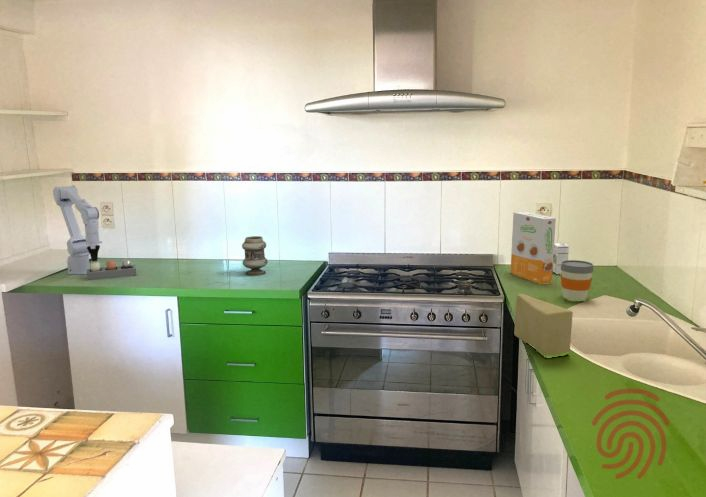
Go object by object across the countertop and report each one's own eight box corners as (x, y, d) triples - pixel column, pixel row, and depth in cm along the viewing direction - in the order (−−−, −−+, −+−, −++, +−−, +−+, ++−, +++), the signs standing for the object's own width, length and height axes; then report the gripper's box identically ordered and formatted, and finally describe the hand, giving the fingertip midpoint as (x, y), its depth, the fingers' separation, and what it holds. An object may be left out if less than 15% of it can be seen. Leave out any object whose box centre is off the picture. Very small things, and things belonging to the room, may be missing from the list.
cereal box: (551, 283, 262) (555, 218, 256) (540, 284, 260) (544, 219, 254) (521, 272, 283) (524, 211, 277) (510, 273, 281) (513, 212, 275)
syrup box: (567, 275, 277) (569, 245, 274) (555, 275, 277) (557, 245, 274) (563, 272, 283) (565, 243, 280) (551, 272, 283) (553, 243, 280)
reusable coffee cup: (571, 304, 231) (573, 267, 228) (552, 296, 243) (554, 261, 240) (597, 301, 234) (600, 265, 231) (578, 293, 246) (580, 259, 243)
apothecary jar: (240, 272, 287) (238, 236, 284) (263, 269, 292) (262, 234, 289) (246, 277, 277) (245, 240, 273) (271, 274, 282) (269, 238, 278)
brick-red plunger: (105, 270, 279) (104, 262, 278) (109, 268, 283) (108, 260, 282) (113, 270, 279) (112, 262, 278) (117, 268, 283) (116, 260, 282)
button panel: (136, 275, 282) (135, 268, 281) (87, 280, 273) (86, 273, 273) (135, 271, 290) (135, 264, 289) (87, 275, 281) (86, 269, 281)
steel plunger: (121, 269, 282) (120, 261, 281) (124, 267, 286) (124, 259, 285) (129, 269, 282) (128, 261, 281) (132, 267, 285) (132, 259, 285)
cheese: (503, 336, 196) (505, 293, 193) (527, 333, 199) (530, 291, 196) (544, 360, 175) (547, 313, 172) (571, 356, 179) (574, 309, 176)
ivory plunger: (89, 272, 276) (88, 264, 276) (93, 270, 280) (93, 262, 280) (97, 272, 276) (96, 264, 275) (101, 270, 280) (101, 262, 279)
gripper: (101, 234, 269) (103, 263, 272) (101, 230, 283) (103, 257, 285) (84, 235, 267) (87, 264, 269) (85, 231, 280) (88, 258, 283)
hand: (94, 260), depth 277 cm, fingers closed
